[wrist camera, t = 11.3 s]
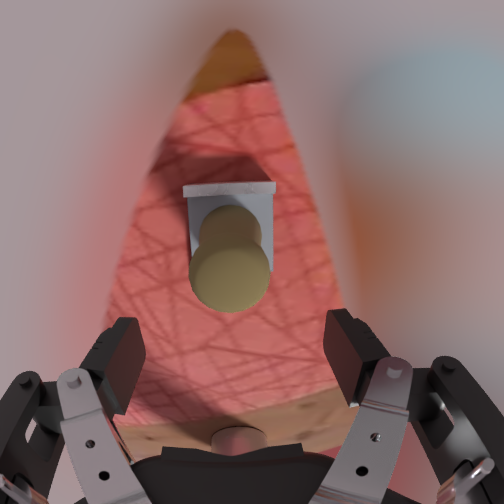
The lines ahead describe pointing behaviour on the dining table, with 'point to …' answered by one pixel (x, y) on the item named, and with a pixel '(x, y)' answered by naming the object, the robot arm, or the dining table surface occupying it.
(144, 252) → the dining table surface
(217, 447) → the robot arm
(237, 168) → the dining table surface
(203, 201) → the slate shelf board
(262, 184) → the rail
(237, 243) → the cork
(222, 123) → the dining table surface
